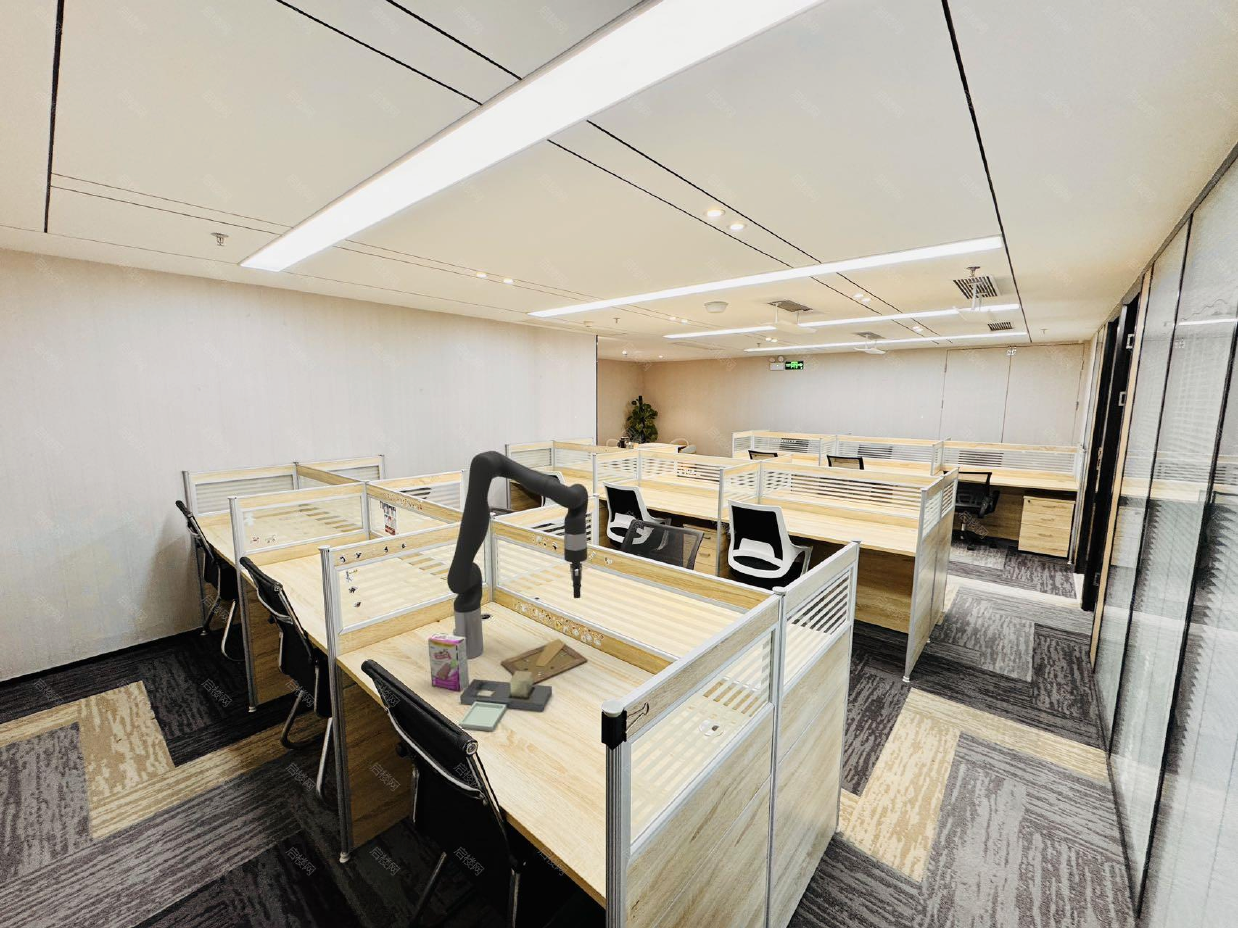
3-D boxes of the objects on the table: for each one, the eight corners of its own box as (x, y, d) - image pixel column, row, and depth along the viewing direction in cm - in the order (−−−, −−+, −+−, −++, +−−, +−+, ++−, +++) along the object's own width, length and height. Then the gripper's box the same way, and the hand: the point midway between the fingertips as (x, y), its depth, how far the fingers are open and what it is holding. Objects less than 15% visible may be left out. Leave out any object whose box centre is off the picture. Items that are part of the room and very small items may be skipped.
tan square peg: (511, 704, 153) (510, 679, 151) (517, 694, 157) (516, 670, 156) (527, 705, 152) (526, 681, 151) (533, 696, 157) (531, 672, 155)
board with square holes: (460, 703, 153) (460, 695, 153) (474, 686, 162) (473, 679, 162) (542, 711, 149) (542, 703, 148) (552, 693, 158) (551, 686, 157)
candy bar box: (430, 686, 163) (426, 638, 160) (441, 677, 167) (437, 631, 165) (460, 692, 159) (456, 643, 157) (469, 683, 164) (466, 636, 161)
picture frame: (558, 643, 190) (500, 665, 175) (558, 638, 190) (500, 660, 175) (587, 663, 175) (527, 689, 161) (587, 658, 175) (526, 684, 160)
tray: (459, 728, 142) (458, 723, 142) (475, 706, 152) (474, 701, 152) (492, 731, 141) (492, 726, 140) (506, 709, 150) (506, 704, 150)
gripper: (563, 539, 172) (565, 584, 174) (564, 553, 158) (565, 602, 160) (586, 538, 173) (586, 583, 175) (588, 552, 159) (589, 600, 161)
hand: (576, 592), depth 168 cm, fingers open, 8 cm apart
